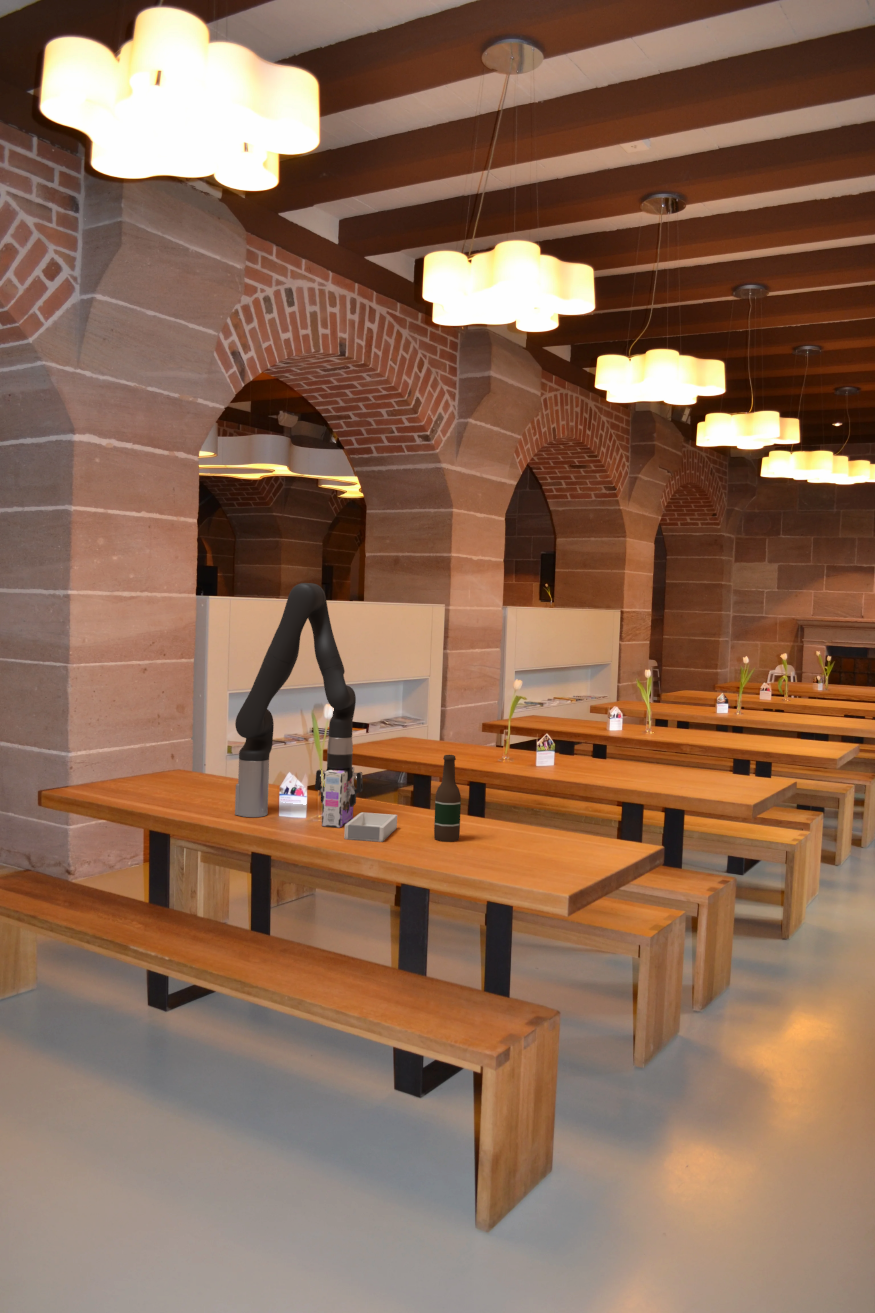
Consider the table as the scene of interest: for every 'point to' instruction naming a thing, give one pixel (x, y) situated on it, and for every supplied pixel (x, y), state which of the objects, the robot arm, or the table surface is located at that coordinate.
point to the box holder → (370, 827)
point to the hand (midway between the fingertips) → (338, 805)
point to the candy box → (336, 798)
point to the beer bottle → (447, 804)
